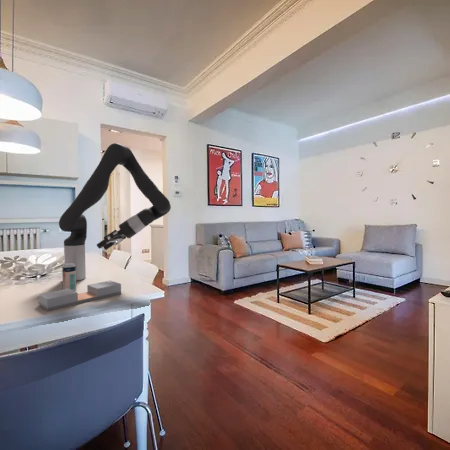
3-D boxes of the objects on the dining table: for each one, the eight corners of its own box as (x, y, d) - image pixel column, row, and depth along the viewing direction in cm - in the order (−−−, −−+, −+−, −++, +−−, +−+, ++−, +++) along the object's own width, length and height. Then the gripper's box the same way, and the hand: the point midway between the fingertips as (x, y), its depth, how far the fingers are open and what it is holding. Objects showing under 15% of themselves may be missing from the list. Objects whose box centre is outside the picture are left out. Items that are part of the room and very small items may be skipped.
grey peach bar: (39, 305, 95) (38, 294, 95) (110, 289, 115) (110, 280, 115) (47, 311, 89) (47, 299, 89) (121, 293, 109) (120, 283, 109)
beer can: (66, 291, 113) (65, 263, 113) (78, 290, 113) (77, 262, 113) (60, 294, 108) (59, 265, 108) (72, 294, 109) (72, 264, 108)
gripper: (131, 222, 129) (101, 242, 126) (123, 216, 115) (90, 239, 112) (140, 234, 128) (110, 255, 125) (133, 230, 114) (100, 253, 111)
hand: (101, 247), depth 119 cm, fingers open, 8 cm apart
